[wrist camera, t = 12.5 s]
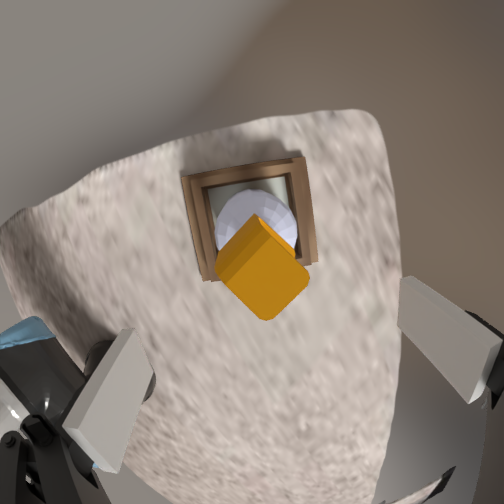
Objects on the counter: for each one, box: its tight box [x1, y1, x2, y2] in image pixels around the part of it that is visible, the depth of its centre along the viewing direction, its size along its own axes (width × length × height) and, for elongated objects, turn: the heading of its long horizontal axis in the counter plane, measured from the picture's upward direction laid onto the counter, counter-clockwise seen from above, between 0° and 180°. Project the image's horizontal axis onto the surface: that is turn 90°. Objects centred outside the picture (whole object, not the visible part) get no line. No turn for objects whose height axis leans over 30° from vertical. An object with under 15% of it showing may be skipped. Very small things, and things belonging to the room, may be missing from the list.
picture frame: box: [181, 157, 318, 282], centre depth 39 cm, size 18×16×4 cm
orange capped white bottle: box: [214, 189, 310, 321], centre depth 28 cm, size 9×9×25 cm
